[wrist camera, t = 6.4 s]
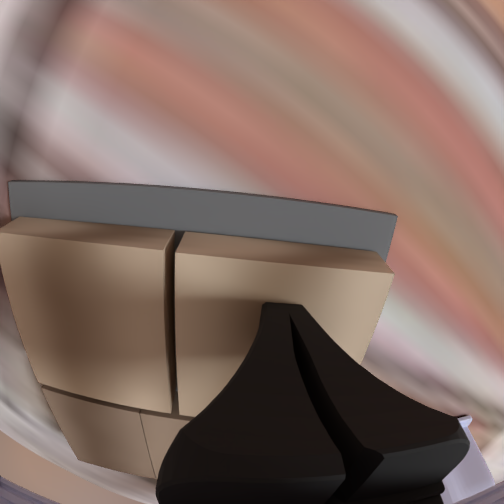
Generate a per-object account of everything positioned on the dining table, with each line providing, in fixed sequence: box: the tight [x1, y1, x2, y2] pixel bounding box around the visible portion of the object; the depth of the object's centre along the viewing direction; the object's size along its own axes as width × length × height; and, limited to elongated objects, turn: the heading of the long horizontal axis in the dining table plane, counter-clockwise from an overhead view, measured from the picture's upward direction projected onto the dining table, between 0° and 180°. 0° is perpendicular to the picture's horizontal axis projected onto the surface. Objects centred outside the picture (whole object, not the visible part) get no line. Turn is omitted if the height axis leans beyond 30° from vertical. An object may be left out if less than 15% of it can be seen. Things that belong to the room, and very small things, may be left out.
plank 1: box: [0, 217, 177, 414], centre depth 12 cm, size 7×8×2 cm
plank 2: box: [175, 231, 394, 417], centre depth 12 cm, size 7×8×2 cm
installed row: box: [41, 384, 194, 479], centre depth 15 cm, size 15×8×2 cm, turn 83°
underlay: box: [8, 180, 398, 391], centre depth 14 cm, size 16×18×1 cm
